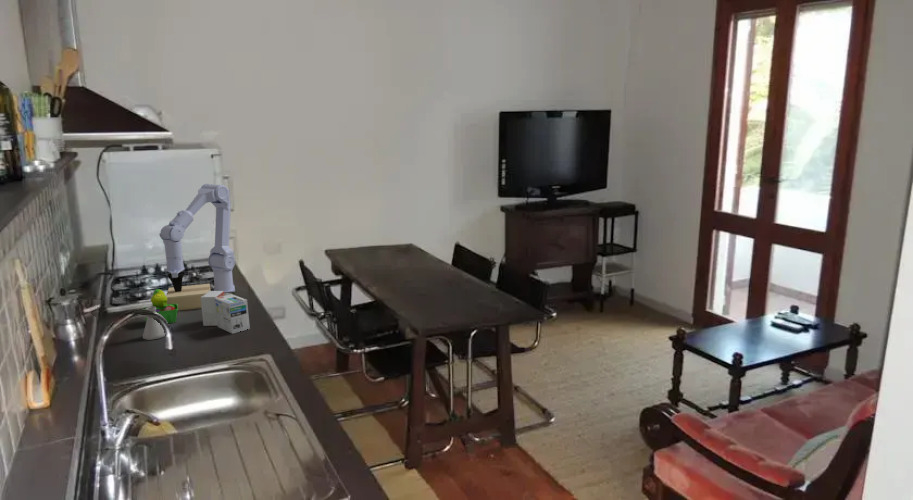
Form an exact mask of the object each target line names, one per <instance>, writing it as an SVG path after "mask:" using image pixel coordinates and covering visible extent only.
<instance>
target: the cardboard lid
mask: <svg viewBox="0 0 913 500" xmlns="http://www.w3.org/2000/svg"><path fill="white" fill-rule="evenodd" d="M210 290H211V283H203V284H202V283H201V284H195V285H193V284H191V285H182V290H181V291H180V292H175V290H174V287H173V286H172V287H168V290H167V293H166V294H165V295H166V297H167V299H171V298H181V297H191V296H200V295H205V294H206V293H208V292H209V291H210Z"/></svg>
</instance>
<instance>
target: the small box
mask: <svg viewBox="0 0 913 500" xmlns="http://www.w3.org/2000/svg"><path fill="white" fill-rule="evenodd" d="M225 294H226V293H224V291H214V290H211V291H209V292H208V293H206V294H205V295H204V296H202V297H200V298H201V307H202V308H201V314H202V324H203V326H204V327H205V326H206V327H209V326H210V327H211V326H212V327H214V326H217V327H218V323H217V313H216V304H215V298H216V297H221V296H225Z"/></svg>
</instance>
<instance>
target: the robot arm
mask: <svg viewBox="0 0 913 500" xmlns="http://www.w3.org/2000/svg"><path fill="white" fill-rule="evenodd" d="M230 196H231V195H230V189H229V188H228V187H227V186H226V185H224V184H209V183H205V184H203V185H202V186H201V187H200V188H199V189H198V191H197V194H196V196H195V197H194V198H193V199H192V201H191V202H190V204H188V206H187V207H186V209H185V210H180V211H178V212H177V213H176V216H174V218H173V219H172V220H170V221H169V223H168V224H166V225H164V226H163V227H162V228H161V229H160V233H159V237H160V238H161V240H162V243H163V244H164V245H163V246H164V252H165V259H166V266H167V267H166V268H163V271H164V272H168V274H167V276H168V279H169V280H170V281H171V284H172V287H174V290H175V292H180V291H181V290H182V286H183V278H184V276H185V266H184V260H183V259H184V258H183V250H182V241H181V240H182V239H183V238H184V235H185V231H186V230H187V228H188V227H189V226H191V224H192V223H193V222H194V215H196V214H197V213H198V211H200V209H201V208H202V207H204V206H205V205H206V204H207V203H211V204H212V205H213V206H214V208H215V209H216V210H215V228H214V229H215V231H214V234H215V235H214V246H213V247H212V248H211V249H210V251H209V252H210V253H209V255H208V258H207V264H208V266H209V267H210V268H211V271H212V272H213V282H214V287H213V291H224V293H225V294H226V293H234V292H236V288H235V287H236V286H235V284H234V279H233V270H234V267H235V265H236V258H235V254H234V253H235V252H234V250H232V249H231V247H230V234H231V233H230V231H231V212H232V211H231V209H232V202H231V199H230Z"/></svg>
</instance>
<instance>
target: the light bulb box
mask: <svg viewBox="0 0 913 500" xmlns="http://www.w3.org/2000/svg"><path fill="white" fill-rule="evenodd" d="M215 304H216V313H217V323H218V326H217V328H219V329H221V330H224V331H226V332H227V333H230V334H237V333H240V331H241V332H243V331H247V329H248V330H250V328H251V327H250V318H249V307H248V299H246V298H245V297H244V298H243V297H240V296H238V295H235V294H232V293H231V294H226V295H225V296H221V297H216V298H215Z"/></svg>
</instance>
